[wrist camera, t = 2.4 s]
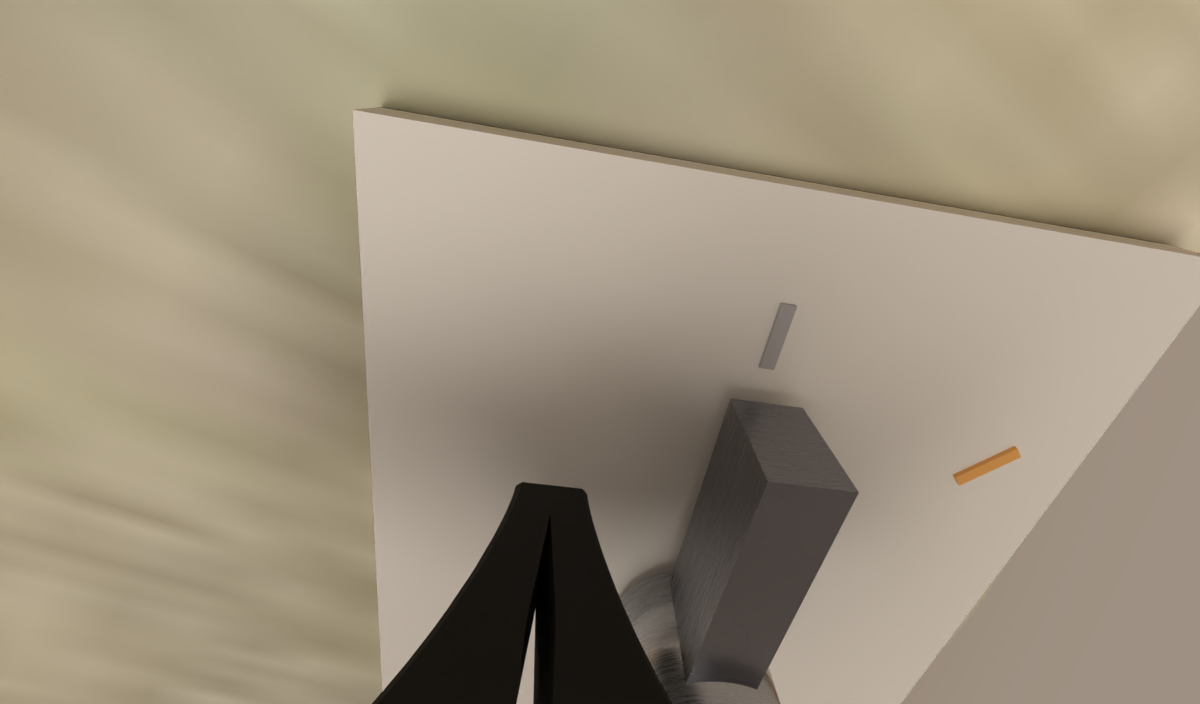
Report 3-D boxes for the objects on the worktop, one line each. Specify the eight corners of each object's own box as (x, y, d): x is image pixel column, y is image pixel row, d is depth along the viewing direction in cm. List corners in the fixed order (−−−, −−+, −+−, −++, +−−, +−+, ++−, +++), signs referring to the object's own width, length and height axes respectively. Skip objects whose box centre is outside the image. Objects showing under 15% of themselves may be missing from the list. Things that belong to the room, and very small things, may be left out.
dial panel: (843, 722, 19) (859, 763, 18) (396, 688, 17) (383, 731, 16) (1167, 244, 11) (1237, 264, 10) (380, 106, 9) (349, 110, 8)
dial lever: (728, 663, 15) (762, 803, 12) (603, 652, 14) (607, 793, 11) (846, 406, 11) (939, 523, 8) (676, 383, 10) (709, 496, 7)
